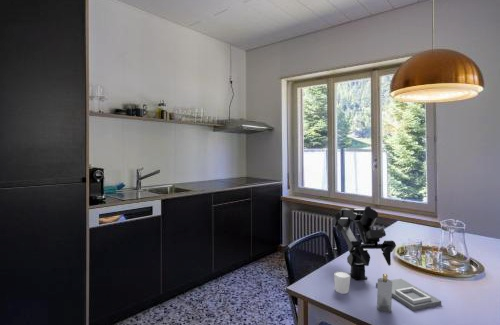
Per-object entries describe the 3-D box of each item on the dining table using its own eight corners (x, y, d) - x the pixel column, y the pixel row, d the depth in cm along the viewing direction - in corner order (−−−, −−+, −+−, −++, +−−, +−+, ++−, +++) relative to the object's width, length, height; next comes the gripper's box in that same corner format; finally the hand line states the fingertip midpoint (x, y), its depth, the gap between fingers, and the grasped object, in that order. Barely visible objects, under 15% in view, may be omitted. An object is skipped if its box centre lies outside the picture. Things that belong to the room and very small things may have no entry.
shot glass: (346, 286, 127) (347, 271, 127) (352, 294, 120) (353, 278, 120) (331, 286, 127) (331, 271, 126) (336, 294, 120) (337, 278, 120)
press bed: (375, 285, 127) (376, 280, 127) (400, 281, 132) (401, 276, 131) (413, 310, 108) (413, 303, 108) (441, 304, 112) (441, 298, 112)
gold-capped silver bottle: (374, 306, 111) (375, 272, 110) (384, 304, 112) (385, 271, 112) (383, 313, 106) (384, 278, 105) (394, 311, 108) (395, 276, 107)
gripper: (350, 221, 121) (362, 255, 110) (393, 221, 122) (409, 254, 111) (343, 236, 129) (354, 269, 117) (384, 236, 130) (398, 268, 118)
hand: (378, 265), depth 116 cm, fingers open, 9 cm apart
